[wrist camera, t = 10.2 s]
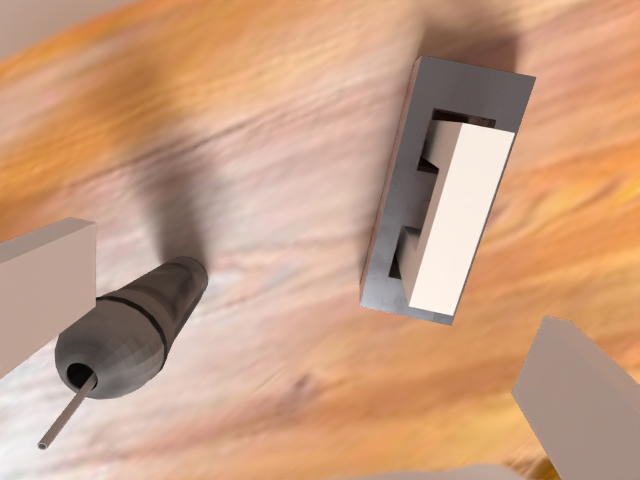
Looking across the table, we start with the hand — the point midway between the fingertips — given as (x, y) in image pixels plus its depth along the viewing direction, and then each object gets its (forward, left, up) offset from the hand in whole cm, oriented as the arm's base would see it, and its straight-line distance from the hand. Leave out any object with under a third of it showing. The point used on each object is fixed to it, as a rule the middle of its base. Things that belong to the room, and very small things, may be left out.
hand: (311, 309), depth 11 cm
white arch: (+8, 0, -24) cm, 25 cm away
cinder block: (+8, 0, -24) cm, 25 cm away
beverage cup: (-13, -13, -24) cm, 31 cm away
